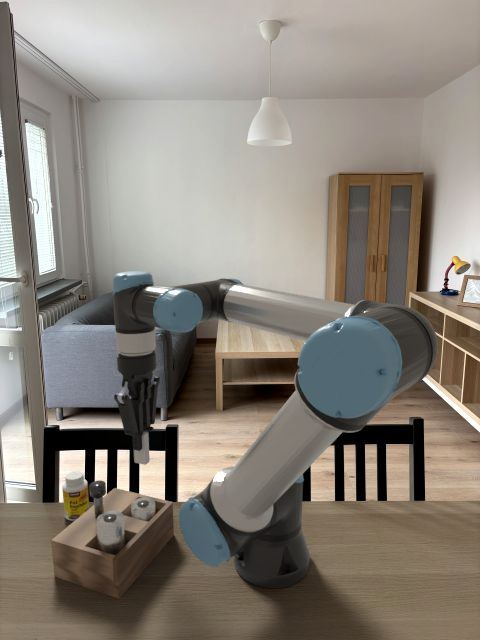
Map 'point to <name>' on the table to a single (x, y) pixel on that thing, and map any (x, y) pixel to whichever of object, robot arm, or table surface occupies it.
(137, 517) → the knob far
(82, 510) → the supplement bottle
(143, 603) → the table surface
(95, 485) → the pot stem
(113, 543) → the knob near
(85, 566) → the wooden box
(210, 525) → the robot arm
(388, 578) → the table surface
